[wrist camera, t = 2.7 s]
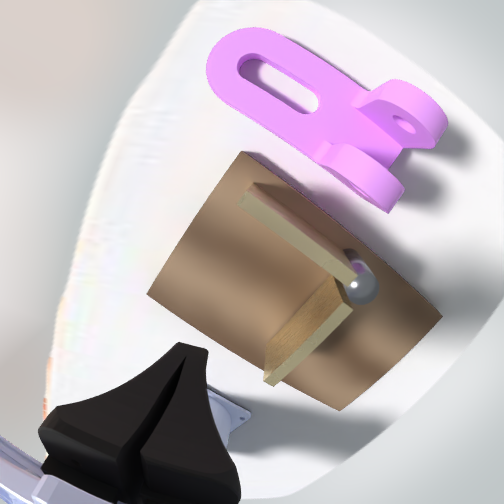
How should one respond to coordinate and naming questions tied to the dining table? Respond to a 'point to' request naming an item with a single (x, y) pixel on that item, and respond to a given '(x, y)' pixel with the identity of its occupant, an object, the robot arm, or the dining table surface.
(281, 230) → the fixed leaf
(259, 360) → the walnut board
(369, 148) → the bracket
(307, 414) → the dining table surface
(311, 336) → the swing leaf
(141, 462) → the robot arm
